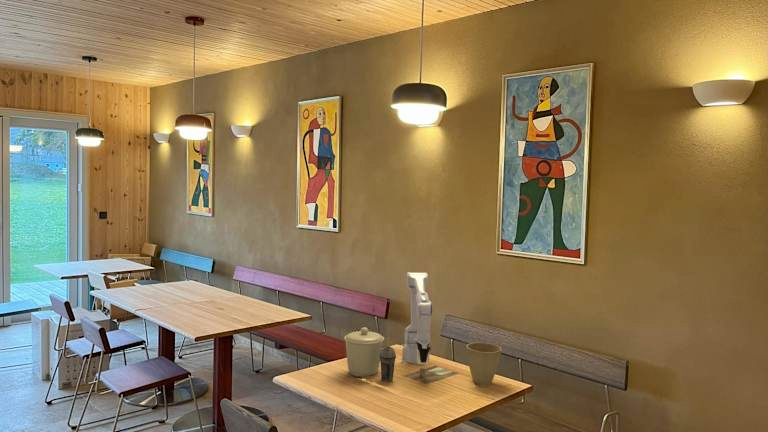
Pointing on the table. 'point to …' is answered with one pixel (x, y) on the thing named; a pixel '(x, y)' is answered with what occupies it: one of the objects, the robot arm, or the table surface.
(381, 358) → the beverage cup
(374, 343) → the canister
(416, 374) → the post board
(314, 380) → the table surface
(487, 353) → the plant pot
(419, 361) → the beige stacked cube
